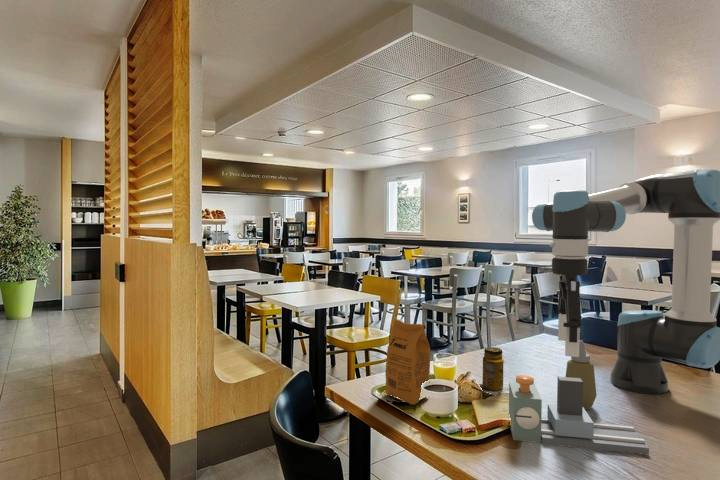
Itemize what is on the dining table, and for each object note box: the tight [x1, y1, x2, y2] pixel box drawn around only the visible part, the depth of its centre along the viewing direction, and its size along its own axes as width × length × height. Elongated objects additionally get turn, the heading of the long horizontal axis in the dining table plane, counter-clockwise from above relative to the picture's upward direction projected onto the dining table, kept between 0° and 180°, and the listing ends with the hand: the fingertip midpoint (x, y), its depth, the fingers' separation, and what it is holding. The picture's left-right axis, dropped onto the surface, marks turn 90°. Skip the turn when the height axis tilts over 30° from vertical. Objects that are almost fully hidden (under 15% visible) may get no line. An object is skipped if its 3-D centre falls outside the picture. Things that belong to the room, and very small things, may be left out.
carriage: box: [546, 376, 595, 439], centre depth 103 cm, size 8×9×12 cm
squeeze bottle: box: [564, 339, 597, 411], centre depth 120 cm, size 8×8×18 cm
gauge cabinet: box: [508, 381, 543, 444], centre depth 105 cm, size 6×10×10 cm, turn 167°
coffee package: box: [385, 318, 431, 406], centre depth 127 cm, size 10×12×22 cm
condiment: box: [478, 346, 509, 395], centre depth 133 cm, size 7×8×12 cm
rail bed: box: [541, 416, 650, 455], centre depth 103 cm, size 22×11×2 cm, turn 77°
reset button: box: [515, 374, 535, 393], centre depth 105 cm, size 4×4×3 cm
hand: (567, 347), depth 103 cm, fingers open, 13 cm apart
